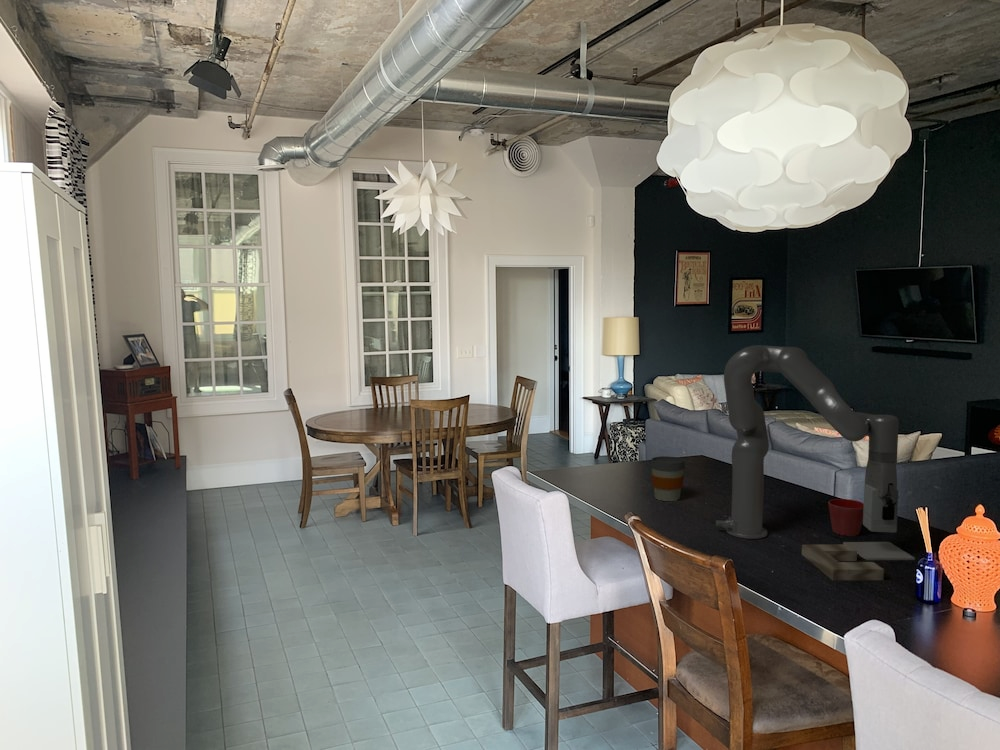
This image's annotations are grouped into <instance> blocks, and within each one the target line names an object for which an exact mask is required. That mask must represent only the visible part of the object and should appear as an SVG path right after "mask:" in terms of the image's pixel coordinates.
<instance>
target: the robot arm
mask: <svg viewBox="0 0 1000 750" xmlns="http://www.w3.org/2000/svg"><path fill="white" fill-rule="evenodd" d="M758 372H767V373H769V372H770V373H780V374H782V376H783V377H785V379H787V380H788V382H790V384H792V385H793V386H794V387H795V388H796V389H797V390H798V392H800V393H801V395H803V396H804V398H806V399H807V401H808V402H810V404H811V405H812V406H813V408H814V409H815V410H816V411H817V412H818V413H819V414H820V416H822V418H823V419H824V420H825V421H826V422H827V423H828V424H829V425H830V426H831V427H832V428H833V429H834V430H835V431H836V433H838V434H839V435H840V436H841V437H842V438H844V439H845V440H846V441H850V442H859V441H861V440H863V439H865V438H866V437H868V451H867V452H868V456H867V457H868V458H867V462H866V463H867V464H866V467H865V476H864V484H866V485H868V486H870V487H873V488H875V489H877V490H878V494H877V496H878V497H879V498H882V497H883V503H884V506H883V509H882V519H883V520H894V509H895V506H896V503H897V500H898V501H899V498H900V497H899V493H898V494H897V490H898V473H897V463H898V450H899V449H898V447H899V446H898V444H899V426H900V425H899V423H900V421H899V418H898V417H897V416H894V415H891V414H882V413H881V414H872V413H866V412H861V411H854V410H853V408H851V407H850V406H849V404H847V403H846V401H845V400H844V399H843V398H842V397H841V395H840V394H839V393H838V391H837V389H836V387H835V385H834V384H833V382H832V381H831V379H830V378H829V377H827V376H826V374H824V373H823V372H822V371H821V370H820V369H819V368H818V367H817V365H814V363H813V362H812V361H811V360H810V359H809V358H808V355H807V353H806V351H804V350H803V349H801V348H799V347H796V346H778V345H777V346H776V345H761V344H760V345H759V344H758V345H757V344H755V345H750V346H747V347H744V348H741V349H740V350H739V351H737V352H736V353H734V354H733V355H732V356H731V357H730V358H729V359H728V361H727V362H726V364H725V367H724V371H723V382H724V383H723V384H724V391H725V398H726V405H727V406H726V407H727V412H728V420H729V424H730V426H731V427H732V428H733V429H734V430H736V434H737V440H735V442H734V444H733V446H732V448H731V449H732V450H731V467H732V468H731V469H732V473H731V474H732V475H731V476H732V477H731V478H732V479H731V480H732V481H731V515H730V516H728V518H727V519H725V520H723V519H722V520H721V519H719V520H718V519H717V520H715V525H716V527H722V528H723V529H725V532H726V533H727V534H728V535H730V536H732V537H736V538H740V539H748V540H749V539H750V540H754V539H755V540H756V539H762V538H765V537H767V536H768V530H767V529H766V528H765V527H763V517H764V516H763V513H764V511H763V510H764V487H765V486H764V485H765V484H764V481H765V475H764V474H765V473H764V472H765V471H764V469H765V467H764V463H765V462H764V461H765V457H766V455H767V454H768V452H769V448H770V444H769V443H770V441H769V436H768V430H767V424H766V417H765V412H764V409H763V407H762V406H761V404H760V403H759V402H757V400H756V397H755V392H754V391H755V390H754V386H753V382H752V377H753V376H754V374H756V373H758ZM888 490H889V492H890V494H891V496H885V495H886V493H887V491H888ZM886 498H891V499H889V500H888V502H887V499H886Z"/></svg>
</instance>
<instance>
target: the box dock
mask: <svg viewBox="0 0 1000 750" xmlns="http://www.w3.org/2000/svg"><path fill="white" fill-rule="evenodd" d="M801 555H802V556H803V557H804V558H805V559H806V560H808V561H809V562H810V563H811V564H812V565H813V566H815V567H816V568H817V569H818V570H819V571H821V572H822V573H823V574H824V575H826V576H827V577H828V578H829V579H830V580H831V581H833V582H834V581H884V576H885V575H884V573H885V569H884V568H883V567H881V566H880V565H879V564H878V563H875V562H874V561H858V559H857V558H858V554H857V550H855V549H854V548H852V547H851V546H850V545H848V544H843V543H842V544H840V543H839V544H835V543H834V544H831V543H830V544H801Z"/></svg>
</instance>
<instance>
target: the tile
mask: <svg viewBox="0 0 1000 750" xmlns="http://www.w3.org/2000/svg"><path fill="white" fill-rule="evenodd" d="M842 544H848V545H850V546H851V547H852V548H854V549H855V550H857V555H858V554H859V555H858V556H860V557H861V558H863V560H865V559H866V560H865V561H915V560H916V557H915V556H913V555H911V554H910V553H908V552H906V551H904V550H903V549H901V548H900V547H898V546H897V545H894V544H893V543H891V542H890V541H843V543H842Z"/></svg>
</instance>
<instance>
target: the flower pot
mask: <svg viewBox="0 0 1000 750" xmlns="http://www.w3.org/2000/svg"><path fill="white" fill-rule="evenodd" d="M827 503H828V511H829V517H830V523H831V529H832V532H833V533H834V532H835V533H834V534H836V533H837V535H839V534H840V535H839V536H845V535H846V536H845V537H856V535H857V536H859V535H860V533H861V530H862V529H861V528H862V525H863V508H864V502H862V501H859V500H854V499H848V498H835V499H830V500H828V502H827Z"/></svg>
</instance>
